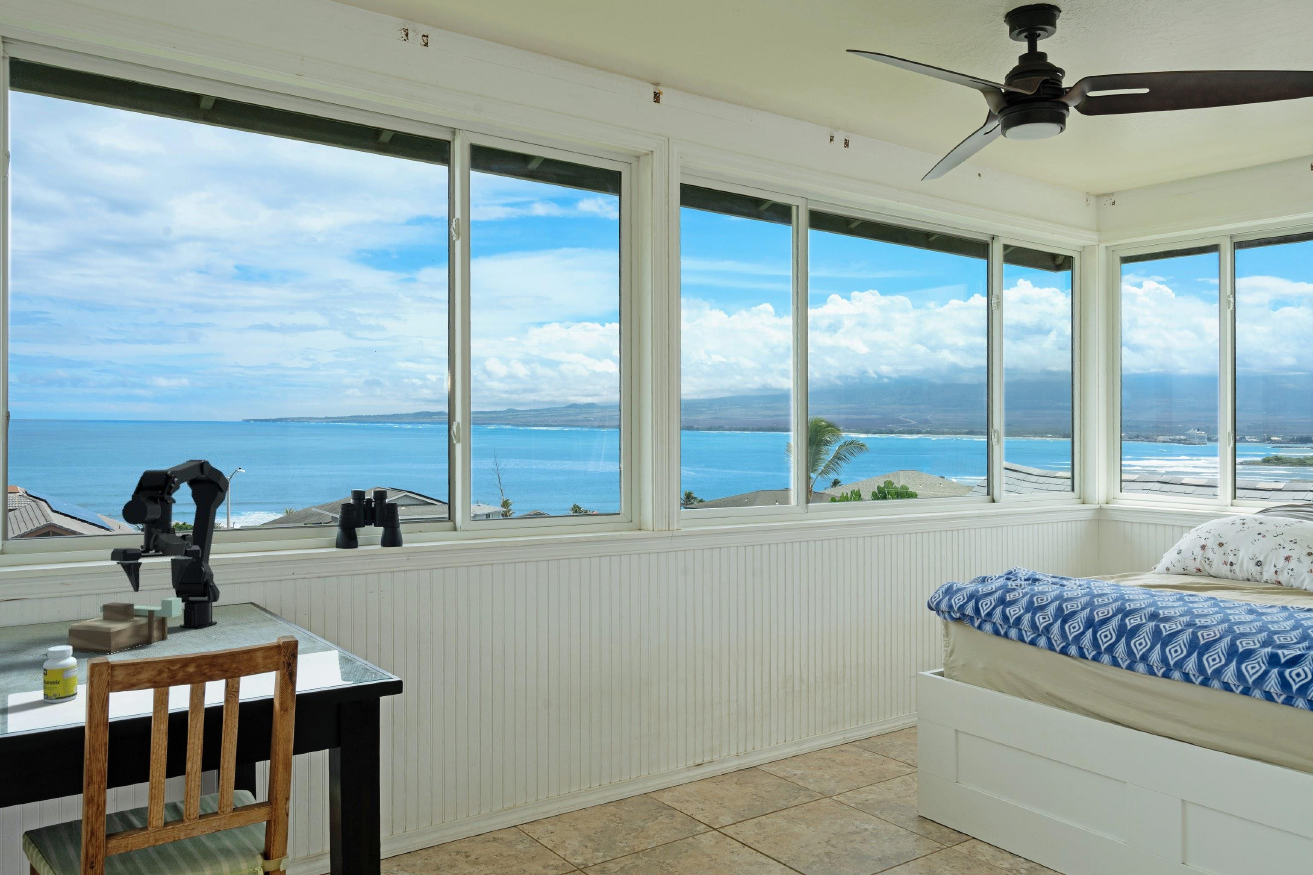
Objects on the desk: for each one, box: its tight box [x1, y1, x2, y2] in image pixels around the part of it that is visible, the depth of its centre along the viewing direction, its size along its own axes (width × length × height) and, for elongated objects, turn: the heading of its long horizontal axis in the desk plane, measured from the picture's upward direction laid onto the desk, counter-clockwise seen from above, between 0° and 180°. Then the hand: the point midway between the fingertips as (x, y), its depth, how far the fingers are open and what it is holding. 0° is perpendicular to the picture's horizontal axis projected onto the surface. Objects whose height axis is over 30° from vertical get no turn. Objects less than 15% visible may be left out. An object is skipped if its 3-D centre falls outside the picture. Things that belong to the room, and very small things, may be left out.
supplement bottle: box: [42, 645, 78, 704], centre depth 178 cm, size 5×5×10 cm
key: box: [99, 597, 183, 618], centre depth 225 cm, size 3×21×4 cm, turn 74°
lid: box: [69, 601, 162, 632], centre depth 221 cm, size 16×11×5 cm
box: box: [68, 610, 169, 655], centre depth 221 cm, size 16×14×8 cm
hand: (155, 590), depth 221 cm, fingers open, 9 cm apart
